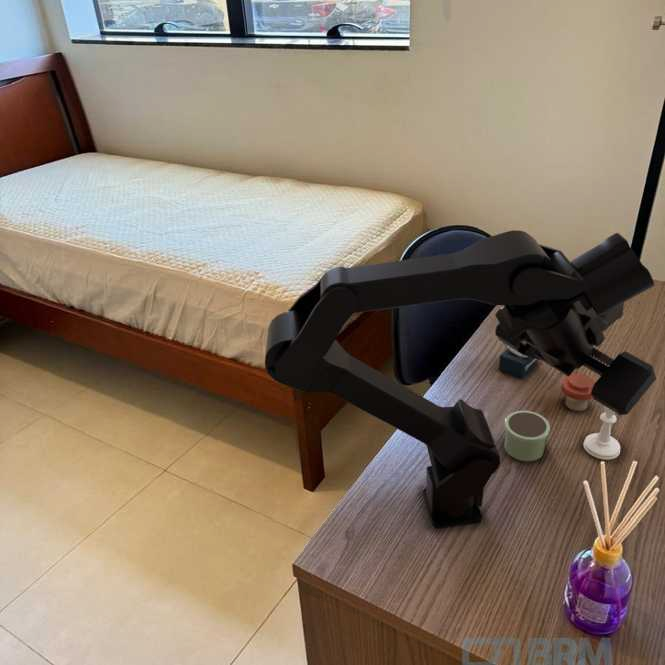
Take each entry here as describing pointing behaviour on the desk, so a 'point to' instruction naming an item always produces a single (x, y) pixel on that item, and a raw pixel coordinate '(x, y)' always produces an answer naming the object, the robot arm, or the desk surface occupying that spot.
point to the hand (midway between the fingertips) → (584, 377)
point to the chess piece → (603, 439)
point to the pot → (526, 435)
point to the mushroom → (577, 391)
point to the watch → (516, 362)
